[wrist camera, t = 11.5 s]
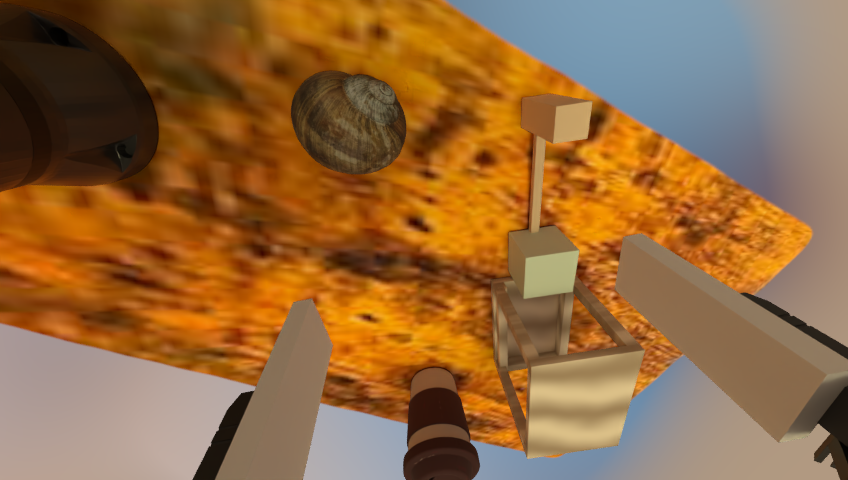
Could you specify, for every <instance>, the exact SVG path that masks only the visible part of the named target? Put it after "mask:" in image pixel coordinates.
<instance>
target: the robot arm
mask: <svg viewBox="0 0 848 480" xmlns="http://www.w3.org/2000/svg"><path fill="white" fill-rule="evenodd" d="M157 140H158V126H157V119H156V115H155V111H154V108H153V105H152V102H151V100H150V98H149V95H148V93H147V91H146V89H145V88H144V86H143V84H142V83H141V81H140V79H139V78H138V76H137V75H136V74H135V72H134V71H133V70H132V68H131V67H130V66H129V65H128V63H127V62H126V61H125V60H124V59H123V58H122V57H121V56H120V55H119V54H118V53H117V52H116V51H115V50H114V49H113V48H112V47H111V46H110V45H109V44H107V43H106V42H105V41H104V40H102V39H101V38H100V37H98V36H97V35H96V34H94V33H93V32H91V31H90V30H88V29H87V28H85V27H83V26H81V25H80V24H78V23H76V22H74V21H72V20H69V19H67V18H65V17H62V16H60V15H57V14H54V13H50V12H47V11H42V10H38V9H33V8H28V7H24V6H19V5H13V4H4V3H0V192H2V191H5V190H9V189H13V188H17V187H20V186H24V185H55V186H96V185H103V184H108V183H112V182H115V181H118V180H121V179H124V178H127V177H130V176H132V175H134V174H136V173H138V172H139V171H141V170H142V169H143V168H144V167H145V166H146V165H147V164H148V163H149V161H150V160H151V158H152V156H153V155H154V152H155V149H156V146H157ZM615 290H616V291H617V292H618V293H619V294H620V295H621V296H622V297H623V298H624V299H625V300H627V301H628V302H629V303H630V304H631V305H632V306H633V307H634V308H635V309H636V310H637V311H638V312H639V313H640V314H642V315H643V316H644V317H645V318H646V319H647V320H648V321H649V322H650V323H651V324H652V325H653V326H654V327H655V328H656V329H658V330H659V331H660V332H661V333H662V334H663V335H664V336H665V337H666V338H667V339H668V340H669V341H670V342H671V343H672V344H674V345H675V346H676V347H677V348H678V349H679V350H680V351H681V352H682V353H683V354H684V355H685V356H686V357H687V358H689V359H690V360H691V361H692V362H693V363H694V364H695V365H696V366H697V367H698V368H699V369H700V370H701V371H702V372H703V373H705V374H706V375H707V376H708V377H709V378H710V379H711V380H712V381H713V382H714V383H715V384H716V385H717V386H718V387H720V388H721V389H722V390H723V391H724V392H725V393H726V394H727V395H728V396H729V397H730V398H731V399H732V400H733V401H734V402H736V403H737V404H738V405H739V406H740V407H741V408H742V409H743V410H744V411H745V412H746V413H747V414H748V415H749V416H751V417H752V418H753V419H754V420H755V421H756V422H757V423H758V424H759V425H760V426H761V427H762V428H763V429H764V430H765V431H766V432H768V433H769V434H770V435H771V436H772V437H773V438H774V439H775V440H776V441H777V442H778V443H781V442H786V441H791V440H795V439H800V438H806V437H808V435H809V434H810V433H811V431H812V430H813V429H814V428H815V426H816V425H817V424H820V425H821V426H822V427H823V428H824V429H826V430H827V431H828V432H829V433H831V434H830V435H829V436H828V437H827V439H826V440H825V441H824V442H823V443H822V445H821V446H820V447H819V448H818V450H817V451H816V452H815V453H814V461H817V462H820V463H821V462H822V461H823V460H824V459H825V458H826V457H827V456H828V455H829V453H831V455H832V458H833V462H832V464H831V467H833V468H835V469H837V472H838V475H839V477H840V480H848V347H846V346H844V345H842V344H841V343H839V342H837V341H836V340H834V339H832V338H830V337H829V336H827V335H825V334H824V333H822V332H820V331H819V330H817V329H815V328H814V327H812V326H807V325H806V323H805V322H803V321H801V320H800V319H798V318H796V317H795V316H790V315H789V313H788V312H786V311H784V310H783V309H781V308H779V307H777V306H776V305H774V304H772V303H771V302H769V301H767V300H764V299H761V298H758V297H756V296H753V295H751V294H748V293H738V292H736V291H735V290H733V289H732V288H730V287H728V286H727V285H725V284H723V283H722V282H720V281H719V280H717V279H715V278H714V277H712V276H710V275H709V274H707V273H705V272H704V271H702V270H701V269H699V268H697V267H696V266H694V265H692V264H691V263H689V262H687V261H686V260H684V259H683V258H681V257H679V256H678V255H676V254H674V253H673V252H671V251H669V250H668V249H666V248H665V247H663V246H661V245H660V244H658V243H656V242H655V241H653V240H651V239H650V238H648V237H647V236H645V235H643V234H642V233H641V234H636V235H631V236H626V237H623V242H622V248H621V254H620V260H619V266H618V273H617V279H616V285H615ZM332 347H333V345H332V342H331V340H330V338H329V336H328V333H327V331H326V329H325V327H324V324H323V322H322V320H321V318H320V316H319V313H318V311H317V309H316V307H315V304H314V302H313V300H312V299H307V300H302V301H297V302H294V303H293V305H292V307H291V309H290V312H289V314H288V316H287V318H286V321H285V323H284V325H283V327H282V330H281V332H280V334H279V336H278V339H277V341H276V343H275V345H274V348H273V350H272V352H271V354H270V357H269V359H268V361H267V363H266V366H265V368H264V370H263V373H262V375H261V377H260V379H259V382H258V384H257V386H256V388H255V391H250V392H245V393H241V394H240V395H239V397H238V398H237V399H236V400H235V401H234V403H233V404H232V405H231V406H230V407H229V409H228V410H227V412H226V414H225V416H224V418H223V420H222V422H221V424H220V426H219V430H218V431H217V432H216V434H215V436H214V438H213V440H212V442H211V446H209V448H208V450H207V452H206V454H205V456H204V458H203V460H202V462H201V464H200V466H199V468H198V470H197V472H196V474H195V476H194V478H193V480H303V476H304V472H305V467H306V463H307V459H308V454H309V449H310V445H311V441H312V436H313V432H314V427H315V422H316V418H317V414H318V409H319V405H320V400H321V396H322V391H323V387H324V382H325V378H326V373H327V369H328V364H329V360H330V356H331V351H332Z"/></svg>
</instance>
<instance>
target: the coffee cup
mask: <svg viewBox="0 0 848 480" xmlns="http://www.w3.org/2000/svg"><path fill="white" fill-rule="evenodd" d="M407 446H408V452H407V453H406V455H405V457H404V462H403V471H404V477H405V479H406V480H472V479H473V478H474V477H475V476H476V474H477V473H478V471H479V468H480V463H479V458H478V453H477V451H476V448H475V447H474V446H473V445H472V444H471V443H470V433H469V429H468V425H467V421H466V418H465V414H464V410H463V406H462V402H461V399H460V397H459V396H458V393H457V389H456V385H455V381H454V378H453V376H452V375H451V373H449V372H448V371H447V370H445V369H442V368H427V369H424V370H422V371H420V372H419V373H417V374H416V375H415V376H414V378H413V380H412V382H411V399H410V403H409V412H408V433H407Z"/></svg>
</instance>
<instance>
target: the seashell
mask: <svg viewBox="0 0 848 480" xmlns="http://www.w3.org/2000/svg"><path fill="white" fill-rule="evenodd" d="M291 118H292V123H293V127H294V130H295V133H296V135H297V138H298V140H299V141H300V143H301V145H302V146H303V147H304V149H305V150H306V151H307V152H308V154H309V155H310V156H311V157H312V158H313V159H315V160H316V161H317V162H318V163H320V164H321V165H323V166H325V167H327V168H329V169H332V170H335V171H338V172H342V173H347V174H367V173H372V172H376V171H378V170H380V169H382V168H384V167H387V166H388V165H389V164H391V163H392V162H393V161H394V160H395V159H396V158H397V157H398V155H399V154H400V152H401V149H402V147H403V144H404V141H405V137H406V120H405V115H404V112H403V109H402V107H401V105H400V103H399V102H398V100H397V97H396V95H395V93H394V91H393V89H392V88H391V87H390V86H389V85H388V84H387V83H385V82H383V81H381V80H377V79H376V78H374V77H371V76H368V75H354V76H352V75H350V74H347V73H344V72H339V71H324V72H320V73H317V74H314V75H313V76H311V77H309V78H308V79H307V80H305V81H304V82H303V83H302V85H301V86H300V87H299V89H298V90H297V92H296V93H295V95H294V98H293V101H292V106H291Z"/></svg>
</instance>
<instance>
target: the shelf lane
mask: <svg viewBox="0 0 848 480" xmlns="http://www.w3.org/2000/svg"><path fill="white" fill-rule="evenodd" d="M491 294H492V322H493V349H494V362H495V365H496V368H497V371H498V374H499V376H500V379H501V382H502V385H503V388H504V391H505V394H506V397H507V400H508V403H509V406H510V409H511V412H512V415H513V418H514V421H515V424H516V427H517V430H518V433H519V436H520V439H521V442H522V445H523V448H524V451H525V454H526V457H527V458H528V459H529V458H536V457H543V456H550V455H557V454H563V453H570V452H577V451H584V450H591V449H597V448H604V447H611V446H618V444H619V440H620V437H621V433H622V429H623V425H624V422H625V419H626V415H627V411H628V408H629V405H630V401H631V398H632V394H633V391H634V387H635V383H636V380H637V376H638V373H639V369H640V366H641V362H642V359H643V355H644V352H645V350H644V349H643V348H642V347H641V345H640V344H639V343H638V342H637V341H636V340H635V339H634V338H633V337H632V336H631V335H630V334H629V333H628V331H627V330H626V329H625V328H624V327H623V326H622V325H621V324H620V323H619V322H618V321H617V320H616V318H615V317H614V316H613V315H612V314H611V313H610V312H609V311H608V310H607V309H606V308H605V307H604V305H603V304H602V303H601V302H600V301H599V300H598V299H597V298H596V297H595V296H594V295H593V294H592V293H591V291H590V290H589V289H588V288H587V287H586V286H585V285H584V284H583V283H582V282H581V281H580V280H579V278H578V277H577V276H576V275H575V281H574V287H573V292H568V293H561V294H554V295H547V296H540V297H534V298H527V299H523V297H522V295H521V293H520V291H519V289H518V287H517V286H516V284H515V282H514V280H513V278H512V277H505V278H498V279H491ZM574 294H575V295H576V296H577V298H578V299H579V300H580V301H581V302H582V304H583V305H584V306H585V307H586V308H587V310H588V311H589V312H590V313H591V314H592V316H593V317H594V318H595V319H596V320H597V322H598V323H599V324H600V325H601V326H602V328H603V329H604V330H605V331H606V332H607V334H608V335H609V336H610V337H611V338H612V340H613V341H614V342H615V343H616V344H617V346H618V347H614V348H608V349H601V350H594V351H587V352H580V353H573V354H567V349H568V341H569V333H570V324H571V316H572V308H573V299H574ZM526 368H528V382H527V408H526V419H525V417H524V414H523V411H522V409H521V406H520V403H519V401H518V398H517V395H516V392H515V390H514V387H513V384H512V382H511V379H510V376H509V374H508V371H513V370H520V369H526Z"/></svg>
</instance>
